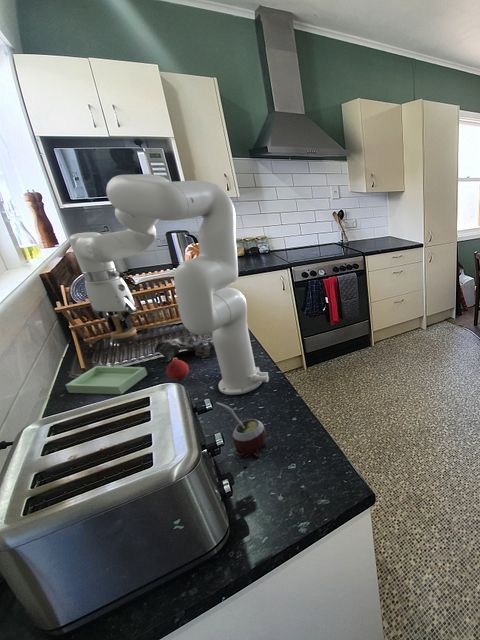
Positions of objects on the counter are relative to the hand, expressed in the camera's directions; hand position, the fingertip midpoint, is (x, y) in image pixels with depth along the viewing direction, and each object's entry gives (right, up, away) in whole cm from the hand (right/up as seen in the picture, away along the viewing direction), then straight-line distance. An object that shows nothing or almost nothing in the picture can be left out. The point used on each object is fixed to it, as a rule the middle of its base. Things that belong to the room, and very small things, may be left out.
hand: (122, 329), depth 111 cm
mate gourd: (+55, -30, -26) cm, 68 cm away
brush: (0, -3, +1) cm, 3 cm away
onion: (+19, -16, 0) cm, 25 cm away
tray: (-1, -17, -3) cm, 17 cm away
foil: (+13, -10, +13) cm, 21 cm away
